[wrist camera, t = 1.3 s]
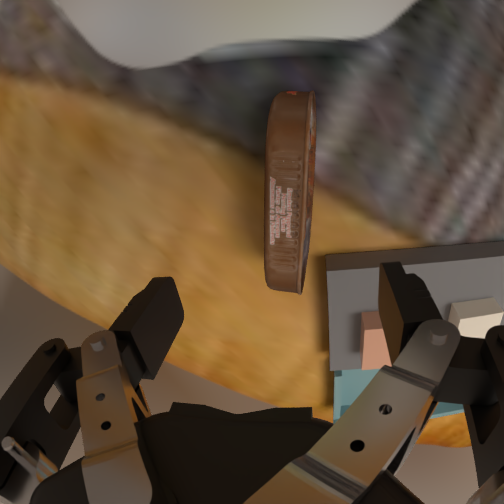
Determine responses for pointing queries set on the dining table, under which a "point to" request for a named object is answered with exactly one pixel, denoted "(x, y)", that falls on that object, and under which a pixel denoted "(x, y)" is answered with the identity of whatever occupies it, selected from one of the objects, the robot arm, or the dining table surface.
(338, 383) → the tray
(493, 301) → the cream tile
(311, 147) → the tin
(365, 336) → the terracotta tile
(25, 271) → the dining table surface
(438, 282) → the grey stone slab
